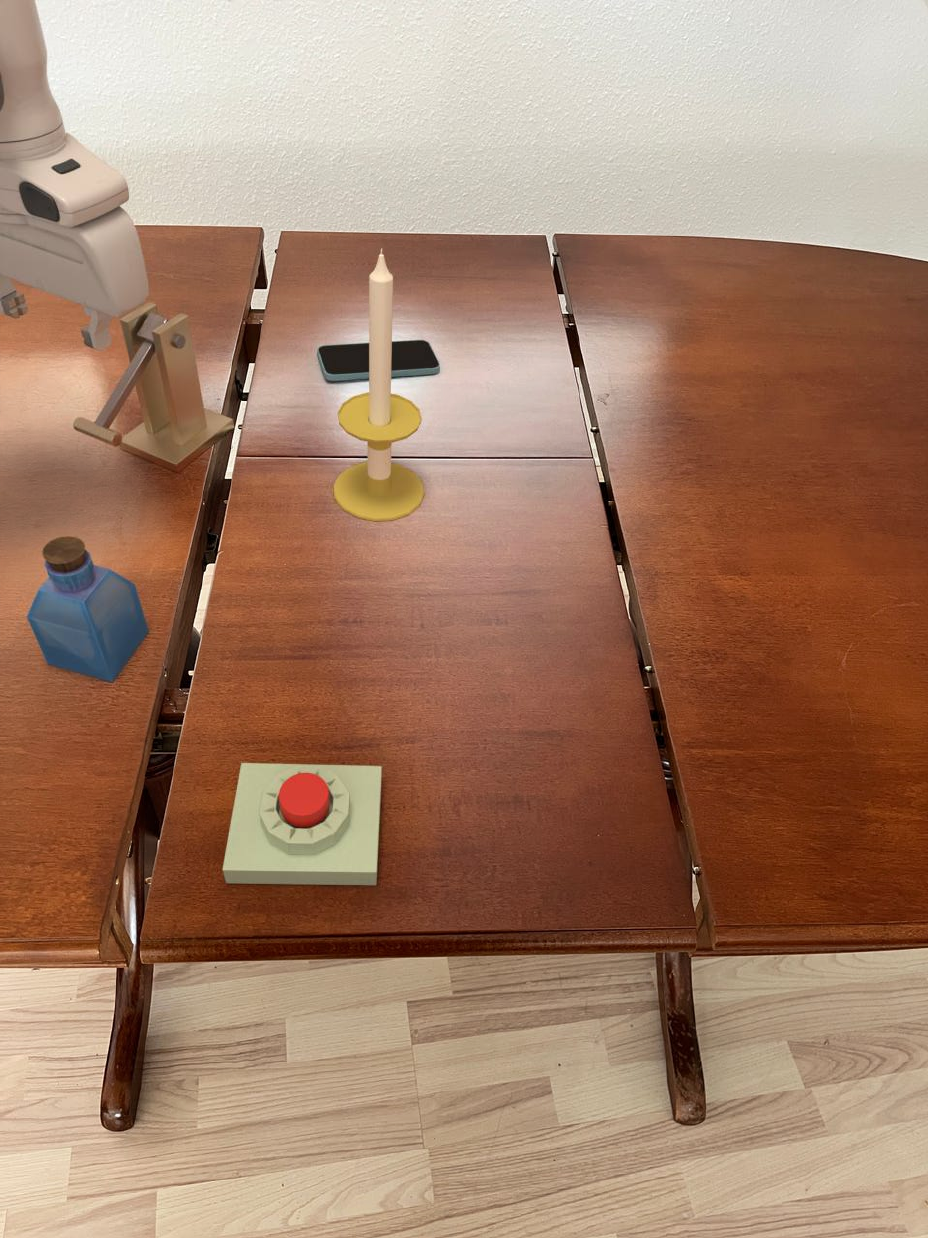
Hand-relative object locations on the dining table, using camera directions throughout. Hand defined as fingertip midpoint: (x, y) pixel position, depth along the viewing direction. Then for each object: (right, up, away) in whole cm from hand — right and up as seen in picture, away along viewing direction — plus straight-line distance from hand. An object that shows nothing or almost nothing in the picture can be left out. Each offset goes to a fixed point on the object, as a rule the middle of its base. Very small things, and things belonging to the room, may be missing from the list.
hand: (56, 329), depth 75 cm
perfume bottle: (+3, -28, +1) cm, 28 cm away
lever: (+2, -2, +13) cm, 13 cm away
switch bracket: (+3, -5, +22) cm, 23 cm away
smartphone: (+25, +8, +36) cm, 44 cm away
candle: (+27, -12, +19) cm, 35 cm away
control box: (+24, -42, -9) cm, 49 cm away
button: (+24, -39, -12) cm, 48 cm away
